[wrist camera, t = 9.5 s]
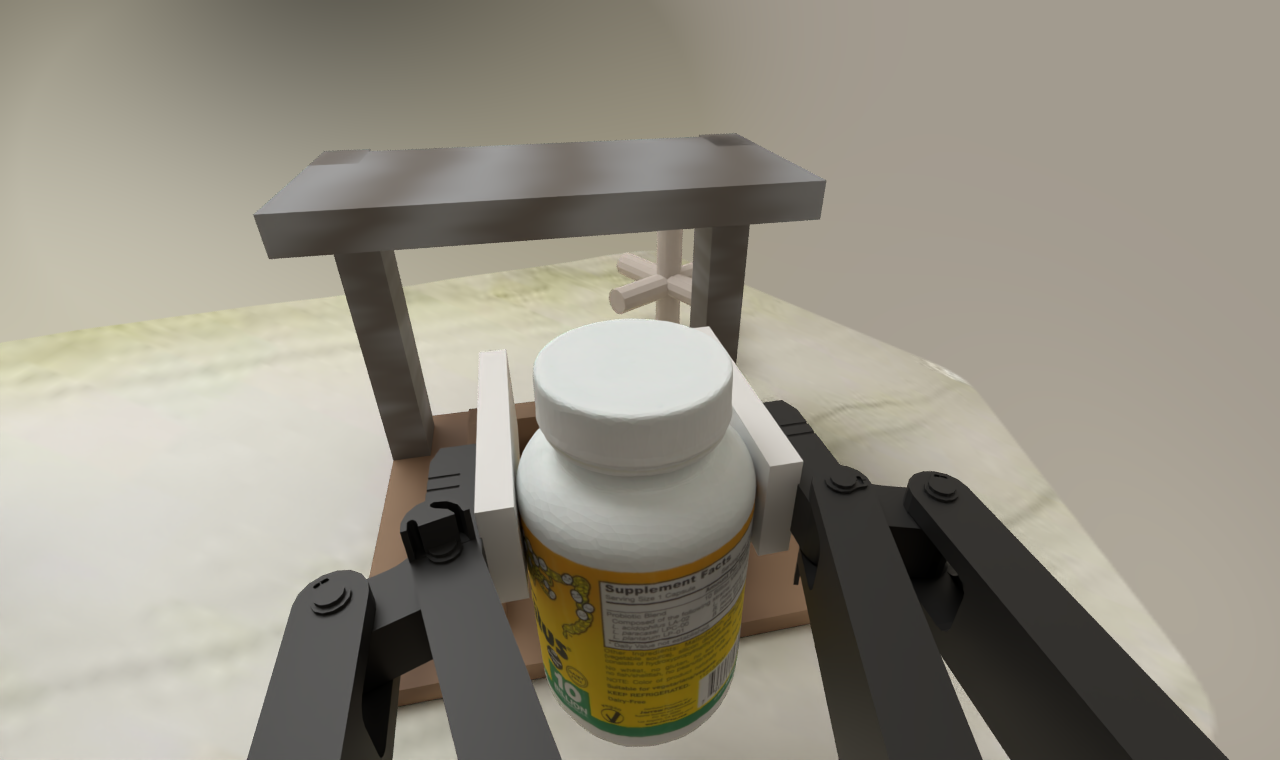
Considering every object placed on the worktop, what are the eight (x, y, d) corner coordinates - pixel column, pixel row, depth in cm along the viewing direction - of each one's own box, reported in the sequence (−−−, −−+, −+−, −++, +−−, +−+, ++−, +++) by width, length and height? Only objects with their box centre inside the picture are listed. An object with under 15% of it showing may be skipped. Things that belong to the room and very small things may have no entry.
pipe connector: (663, 390, 41) (667, 252, 36) (579, 338, 48) (571, 215, 42) (756, 344, 47) (771, 218, 42) (669, 303, 53) (672, 190, 48)
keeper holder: (350, 716, 22) (150, 305, 13) (405, 432, 37) (329, 146, 28) (837, 617, 26) (942, 240, 17) (710, 394, 41) (729, 129, 32)
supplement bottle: (762, 731, 15) (819, 423, 10) (549, 775, 14) (492, 463, 9) (704, 565, 19) (722, 295, 14) (539, 591, 19) (497, 315, 14)
